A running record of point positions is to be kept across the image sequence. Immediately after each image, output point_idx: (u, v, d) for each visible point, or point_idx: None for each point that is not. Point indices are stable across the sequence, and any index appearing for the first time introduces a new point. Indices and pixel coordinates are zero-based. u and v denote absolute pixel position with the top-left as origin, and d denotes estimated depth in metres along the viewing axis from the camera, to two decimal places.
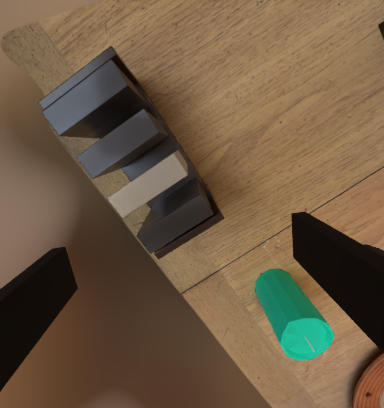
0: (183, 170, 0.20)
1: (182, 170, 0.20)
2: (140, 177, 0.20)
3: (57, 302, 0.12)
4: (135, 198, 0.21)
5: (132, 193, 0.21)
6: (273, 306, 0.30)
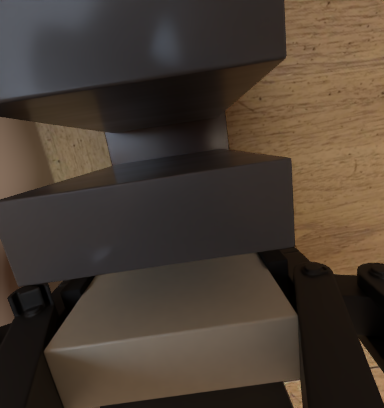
0: (296, 365, 0.07)
1: (294, 365, 0.07)
2: (170, 338, 0.06)
3: None
4: (127, 381, 0.07)
5: (124, 366, 0.07)
6: None
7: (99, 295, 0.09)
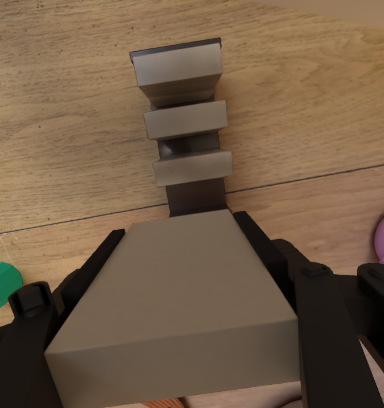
0: (296, 367, 0.07)
1: (294, 367, 0.07)
2: (170, 340, 0.06)
3: None
4: (127, 383, 0.07)
5: (124, 369, 0.07)
6: None
7: (99, 297, 0.09)
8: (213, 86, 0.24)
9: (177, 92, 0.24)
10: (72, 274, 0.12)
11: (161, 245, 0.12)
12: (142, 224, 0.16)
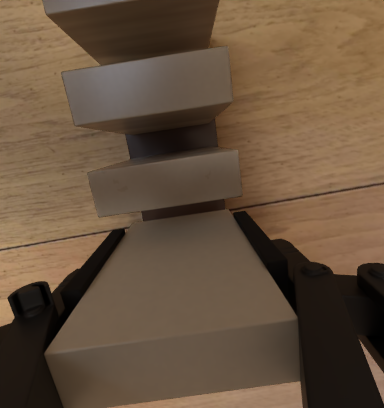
0: (297, 367, 0.07)
1: (295, 367, 0.07)
2: (170, 340, 0.06)
3: None
4: (127, 383, 0.07)
5: (125, 368, 0.07)
6: None
7: (100, 297, 0.09)
8: (206, 37, 0.14)
9: (143, 48, 0.14)
10: (72, 274, 0.12)
11: (161, 245, 0.12)
12: (142, 225, 0.16)
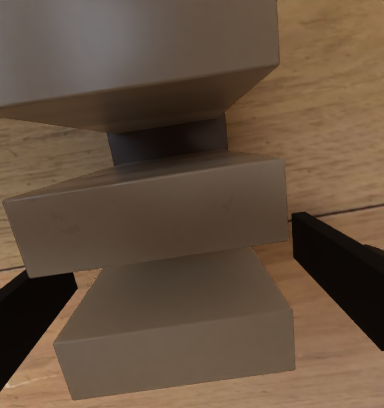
0: (291, 357, 0.07)
1: (289, 356, 0.07)
2: (172, 331, 0.07)
3: (57, 302, 0.12)
4: (131, 371, 0.07)
5: (129, 358, 0.07)
6: None
7: (104, 292, 0.09)
8: None
9: None
10: None
11: None
12: None
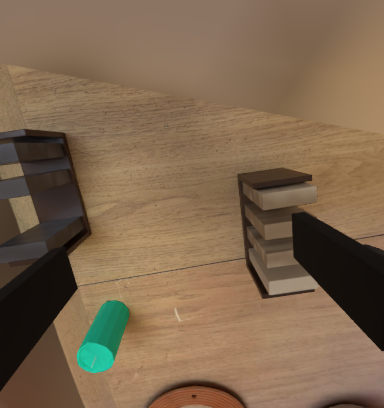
0: (317, 285, 0.34)
1: (317, 285, 0.34)
2: (293, 279, 0.33)
3: (57, 302, 0.12)
4: (283, 288, 0.34)
5: (283, 285, 0.33)
6: (92, 327, 0.41)
7: (268, 272, 0.35)
8: None
9: None
10: None
11: None
12: (254, 249, 0.43)
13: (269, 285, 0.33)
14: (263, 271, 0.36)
